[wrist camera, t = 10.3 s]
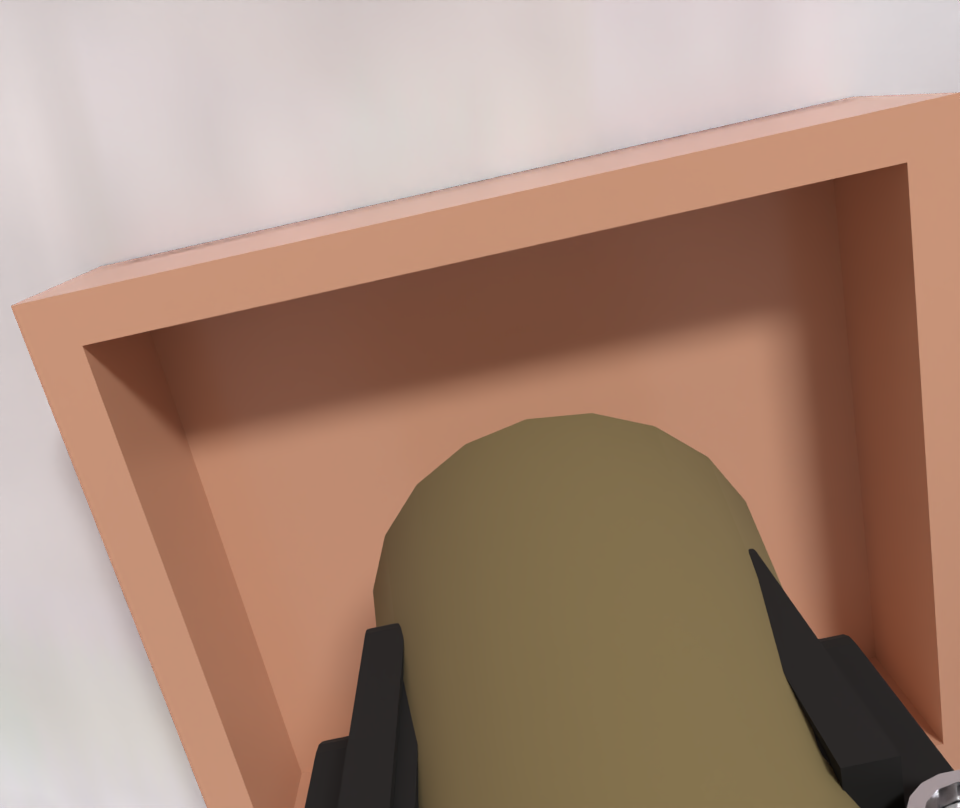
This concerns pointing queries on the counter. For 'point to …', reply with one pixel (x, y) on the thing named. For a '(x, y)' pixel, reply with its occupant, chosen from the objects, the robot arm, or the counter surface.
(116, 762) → the counter surface
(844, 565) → the terracotta tray
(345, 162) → the counter surface
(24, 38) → the counter surface
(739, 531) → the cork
